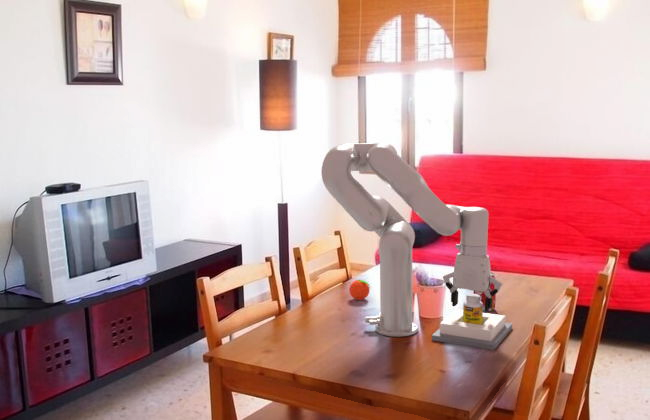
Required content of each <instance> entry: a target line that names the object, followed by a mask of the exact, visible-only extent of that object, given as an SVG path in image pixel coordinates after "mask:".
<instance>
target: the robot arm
mask: <svg viewBox="0 0 650 420" xmlns="http://www.w3.org/2000/svg"><path fill="white" fill-rule="evenodd" d="M351 172H372V173H374V174H375V176H377V177H378V178H379V179H380V180H381V181H383V182H384V183H385V184H386V185H387V187H389V188H391V190H392V191H393V192H395V193H396V194H397V195H398V196H399V197H400V198H401V199H402V200H403V201H404V202H405V204H406V205H408V206H409V208H410V209H412V210H413V212H414V213H415V214H417V215H418V217H419V218H420V219H421V220H423V222H425V223H426V225H428V226H429V227H430V228H431V229H432V230H434V232H436V233H437V234H439V235H442V236H446V237H447V236H452V235H454V234H455V233H457V232H458V231H459V230H460V241H459V242H460V243H459V244H458V243H456V244H455V249H456V250H459V252H458V253H456V258H455V261H454V269H453V272H450V273H448V274H445V275H443V276H442V279H443V281H444V283H445V286H446V288H447V289H448V290H449V293H450V303H451V306H452V307H455V306H457V305H458V303H459V290H458V289H460V290H461V289H462V290H466V291H473V292H474V291H480V292H484V293H485V294H486V296H487V297H486V298H485V311H487V312H489V311H488V310H489V309H490V308H491V307H492V296H494V295H495V294H496V295H497V293H499V291H500V290H501V288H502V287H503V282H501V281H499V280H498V279H496V277H495V278H493V277H492V276H491V262H490V256H489V254H488V237H489V236H488V234H489V233H488V232H489V231H488V230H489V215H490V214H489V211H488V210H487V209H486V208H485V207H480V206H460V205H455V204H446V203H444V202H443V201H442V199H440V198H439V197H438V196H437V195H436V194H435V193H434V192H433V190H431V188H429V186H428V184H427V182H426V180H425V179H424V177H423V175H421V174H420V173H419V172H418V171H417V170H415V169H414V168H413V167H412V165H410V164H409V163H408V162H406V160H404V159H403V158H402V157H401V156H400V155H399V154H398V152H397V149H396V148H395V147H394V146H393V145H392V144H390V143H388V142H370V143H366V142H365V143H363V142H362V143H354V142H353V143H352V142H351V143H343V144H339V145H337V146H334V147H332V148H331V149H330V150H329V151H328V152H326V155H325V157H324V159H323V161H322V165H321V180H322V183H323V185H324V187H325V188H326V190H327V192H328V193H329V194H330V195H331V197H333V199H334V200H335V201H336V202H337V203H338V204H339V205H340V206H341V207H342V208H343V210H344V211H345V212H346V213H347V214H348V215H349V216H350V217H351V218H352V219H353V220H354V221H355V223H357V224H358V226H359V227H360V228H361V229H363V230H364V231H367V232H375V234H377V236H378V237H379V242H378V256H379V257H378V258H379V276H380V277H379V281H380V282H379V283H380V284H379V285H380V287H379V289H380V294H379V295H380V298H379V299H380V303H379V304H380V305H379V306H380V310H379V311H380V312H379V313H378V315H375V316H365V324H369V325H371V326H374V325H375V327H374V328H375V329H374V330H375V332H377V333H378V334H380V335H382V336H388V337H394V338H395V337H396V338H397V337H401V338H402V337H408V336H411V335H414V334H416V333H418V331H419V328H418V327H419V326H418V325H417V324H416V323H414V322H413V246H414V244H415V239H416V234H415V231H414V228H413V227H412V225H411V224H410V223H409V222H408V221H407V220H406V219H405V218H404V217H403V216H402V215H401V213H400V212H399V211H398V210H397V209H396V208H395V207H394V206H393V205H392V204H391V203H390V202H389V201H387V200H386V199H385V197H384V198H383V197H382V196H379V195H372V194H370V193H369V192H368V191H367V190H366V189H365V188H364V187H365V186H363V185H362V184H361V183H360V182H359V181H358V180H357V179H355V178H354V176H353V175H352V173H351ZM450 279H452V282H451V280H450ZM491 283H493V284H494V285H495V286H496V287H495V289H494V290H493V291H492V290H491V289H490V284H491Z"/></svg>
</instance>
